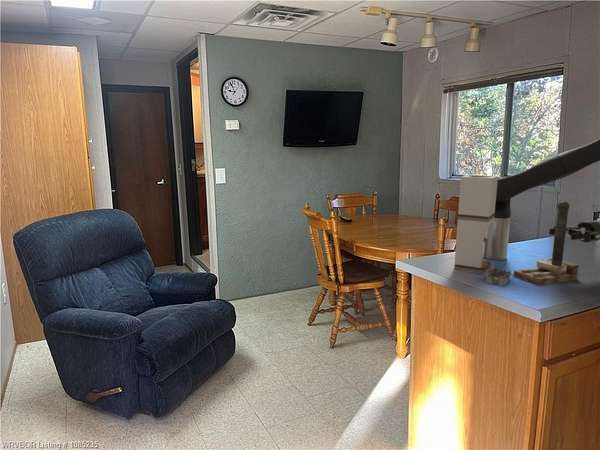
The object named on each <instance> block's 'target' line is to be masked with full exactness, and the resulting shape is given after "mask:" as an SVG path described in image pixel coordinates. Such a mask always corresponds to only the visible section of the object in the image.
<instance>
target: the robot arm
mask: <svg viewBox="0 0 600 450" xmlns="http://www.w3.org/2000/svg"><path fill="white" fill-rule="evenodd" d="M598 162H600V138H599V139H597V140H594V141H592V142H591V143H588V144H585V145H581V146H579V147H576V148H574V149H570V150H566V151H564V152H561V153H557V154H556V155H553V156H550V157H547V158H545V159H542V160H541V161H539V162H537V163H535V164H534V165H532V166H531V167H529V168H527V169H526V170H524V171H522V172H519V173H516V174H514V175H509V176H505V177H503V176H498V180H497V192H496V203H495V214H494V222H493V223H491V224H490V225H489V226H488V235H487V241H486V242H484V244H483V256H482V259H488V260H494V261H495V260H498V261H501V260H502V261H503V260H507V258H508V248H509V239H510V238H509V237H510V226H511V216H512V210H511V199H512V198H514V197H516V196H519V195H520V194H521V193H524V192H526V191H529V190H530V189H531V190H532V189H534V188H537V187H541V186H544V185H546V184H549V183H553V182H556V181H558V180H561V179H563V178H566V177H568V176H570V175H573V174H575V173H577V172H579V171H581V170H584V169H585V168H587V167H589V166H591V165H592V164H595V163H598ZM555 228H556V225H555V226H554V225H553V227H552V228H549V230H548V231H549V232H548V234H549V235H550V236H555ZM567 233H568V234H567ZM565 237H570V240H573V241H577V240H579V241H580V242H583V243H595V242H600V220H587V221H586V220H585V221H581V222H579V223H578V224H577V225H576V226H575V225H572V226H568V225H567V226H566V234H565Z"/></svg>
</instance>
